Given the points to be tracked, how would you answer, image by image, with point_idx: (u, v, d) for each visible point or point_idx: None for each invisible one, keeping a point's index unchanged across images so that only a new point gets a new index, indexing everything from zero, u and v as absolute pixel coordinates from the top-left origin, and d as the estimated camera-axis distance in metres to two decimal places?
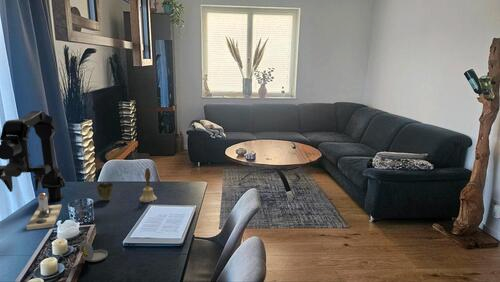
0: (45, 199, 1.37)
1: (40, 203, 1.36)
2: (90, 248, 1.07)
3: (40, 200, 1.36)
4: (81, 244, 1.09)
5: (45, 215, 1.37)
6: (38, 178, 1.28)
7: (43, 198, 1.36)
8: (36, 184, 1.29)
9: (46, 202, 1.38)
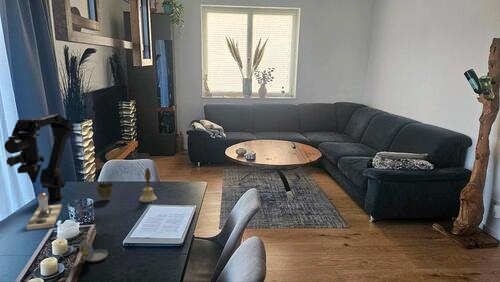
0: (45, 199, 1.37)
1: (40, 203, 1.36)
2: (90, 248, 1.07)
3: (40, 200, 1.36)
4: (81, 244, 1.09)
5: (45, 215, 1.37)
6: None
7: (43, 198, 1.36)
8: None
9: (46, 202, 1.38)
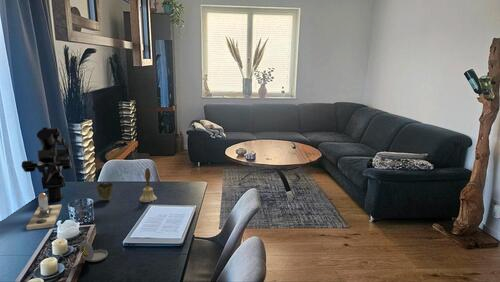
0: (45, 199, 1.37)
1: (40, 203, 1.36)
2: (90, 248, 1.07)
3: (40, 200, 1.36)
4: (81, 244, 1.09)
5: (45, 215, 1.37)
6: (51, 168, 1.46)
7: (43, 198, 1.36)
8: (47, 174, 1.45)
9: (46, 202, 1.38)
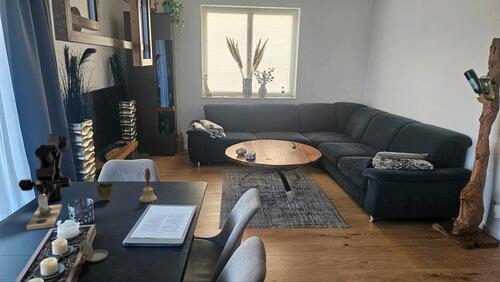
0: (45, 199, 1.37)
1: (40, 203, 1.36)
2: (90, 248, 1.07)
3: (40, 200, 1.36)
4: (81, 244, 1.09)
5: (45, 215, 1.37)
6: (49, 187, 1.41)
7: (43, 198, 1.36)
8: (46, 193, 1.40)
9: (46, 202, 1.37)
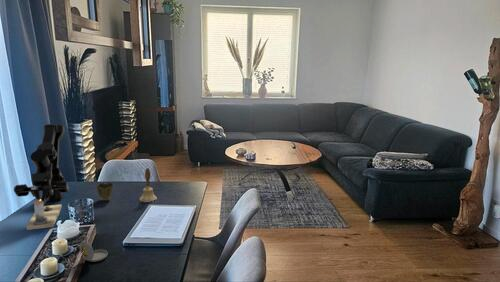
0: (41, 206, 1.30)
1: (36, 210, 1.30)
2: (90, 248, 1.07)
3: (36, 207, 1.29)
4: (81, 244, 1.09)
5: (41, 222, 1.31)
6: (46, 192, 1.35)
7: (39, 204, 1.30)
8: (42, 199, 1.34)
9: (42, 209, 1.31)
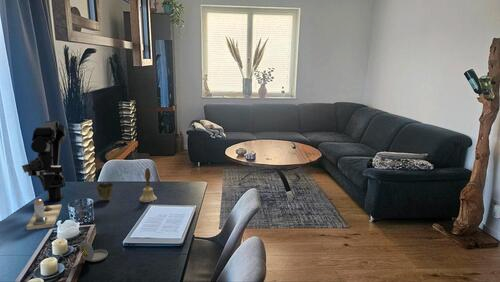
0: (41, 206, 1.30)
1: (36, 210, 1.30)
2: (90, 248, 1.07)
3: (36, 207, 1.29)
4: (81, 244, 1.09)
5: (41, 222, 1.31)
6: (43, 177, 1.41)
7: (39, 204, 1.30)
8: (43, 184, 1.42)
9: (42, 209, 1.31)
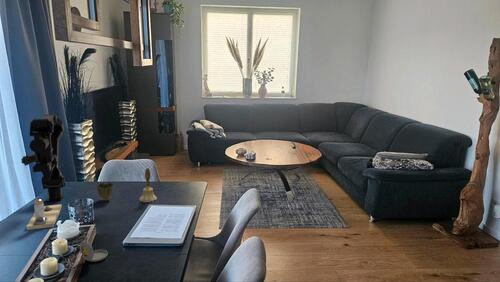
0: (41, 206, 1.30)
1: (36, 210, 1.30)
2: (90, 248, 1.07)
3: (36, 207, 1.29)
4: (81, 244, 1.09)
5: (41, 222, 1.31)
6: None
7: (39, 204, 1.30)
8: None
9: (42, 209, 1.31)
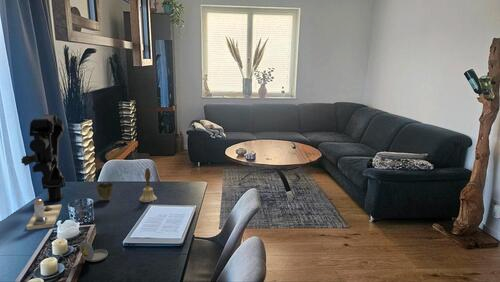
0: (41, 206, 1.30)
1: (36, 210, 1.30)
2: (90, 248, 1.07)
3: (36, 207, 1.29)
4: (81, 244, 1.09)
5: (41, 222, 1.31)
6: None
7: (39, 204, 1.30)
8: None
9: (42, 209, 1.31)
